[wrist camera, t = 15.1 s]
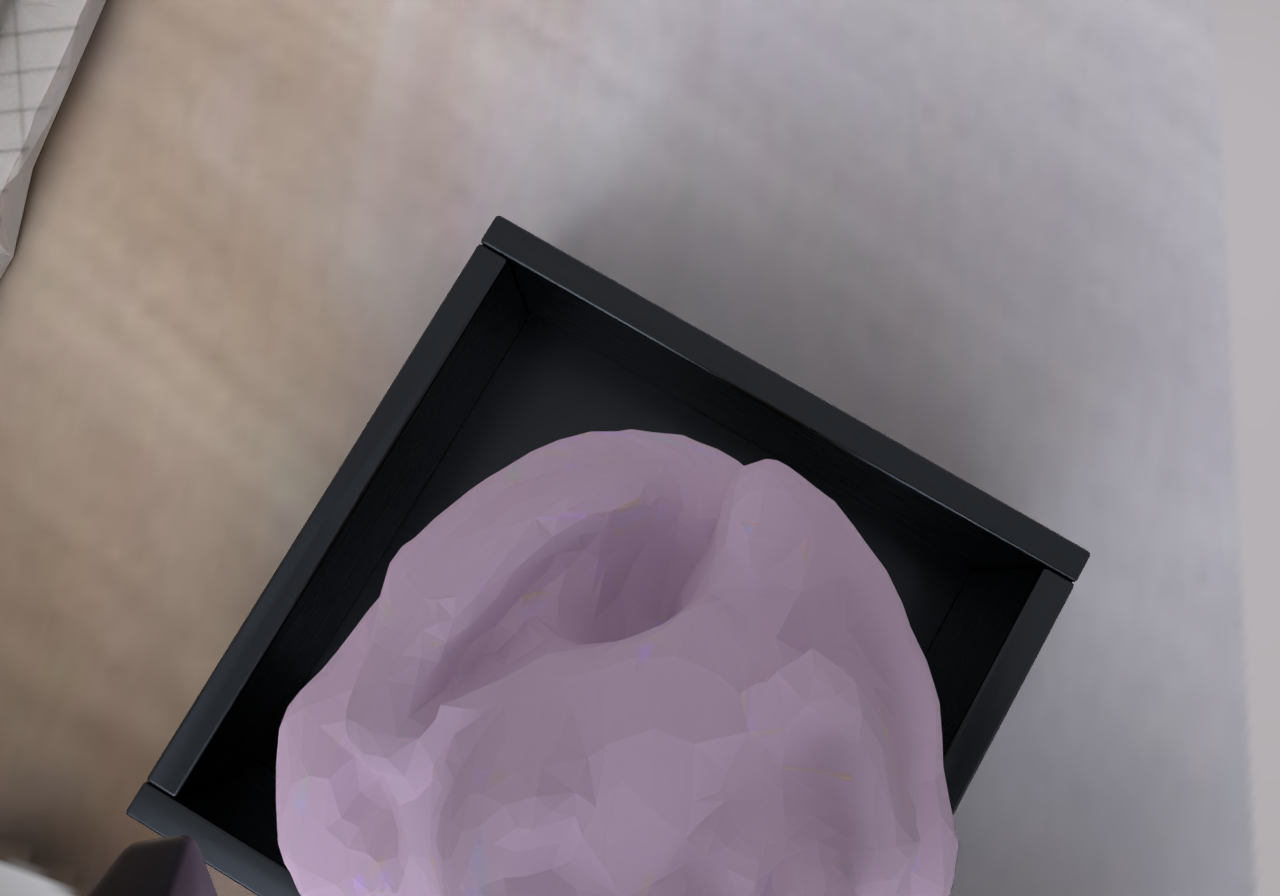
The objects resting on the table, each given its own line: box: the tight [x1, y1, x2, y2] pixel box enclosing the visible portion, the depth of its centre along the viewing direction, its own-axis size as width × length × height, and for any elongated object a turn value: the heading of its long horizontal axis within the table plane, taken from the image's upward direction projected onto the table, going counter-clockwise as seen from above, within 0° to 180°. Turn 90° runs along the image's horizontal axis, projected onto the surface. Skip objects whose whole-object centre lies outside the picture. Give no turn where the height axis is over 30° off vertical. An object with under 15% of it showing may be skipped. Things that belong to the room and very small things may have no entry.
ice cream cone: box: [276, 429, 959, 896], centre depth 15 cm, size 7×6×15 cm
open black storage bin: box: [126, 216, 1090, 896], centre depth 20 cm, size 12×12×4 cm
